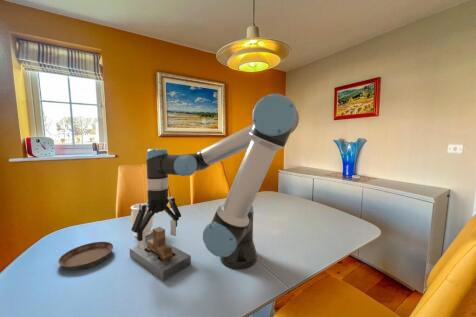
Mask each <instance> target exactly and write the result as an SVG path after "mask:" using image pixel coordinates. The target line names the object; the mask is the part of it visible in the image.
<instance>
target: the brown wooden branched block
mask: <svg viewBox="0 0 476 317" xmlns="http://www.w3.org/2000/svg"><path fill="white" fill-rule="evenodd" d="M151 230H152V238H150V239H147V241H146V242H147V248H146V252H148V253H149V252H151V251H154V252H156V253H157V254H159V255H160V261H162V262H164V261H166V260H168V259H169V258H171V257H173V254H172V247H170V246H168V245H167V244H165V242H166V229H165V228H163V227H161V226H158V227H155V228H151Z"/></svg>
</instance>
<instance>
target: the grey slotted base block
mask: <svg viewBox="0 0 476 317" xmlns="http://www.w3.org/2000/svg"><path fill="white" fill-rule="evenodd" d="M165 244H167V245H168V246H170V247H172V254H173V257H171V258H169V259H168V260H166V261H164V262H162V261H160V255H159V254H157V253H156V252H154V251H151V252H149V253H148V252H146V249H144V250H143V249H142V248H140V244H137V245H134V246H132V247H130V248H129V257H130V258H131V259H132V260H133V261H135V262H137V263H138V264H139V265H140V266H142V267H143V268H144V269H146V270H147V271H148V272H149V273H151V274H153V275H154V276H155V277H156V278H158V279H160V280H161V281H162V282H165V281H166V280H168V279H170V278H171V277H173V276H175V275H177V274H178V273H180V272H181V271H182V270H184V269H186V268H187V267H189V266H191V264H192V255H191V254H188V253H187V252H185V251H183V250H182V249H179V248H177V247H175V246H173V245H172V244H169V243H167V242H166V241H165ZM145 246H146V248H147V241H145Z"/></svg>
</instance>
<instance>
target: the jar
mask: <svg viewBox="0 0 476 317" xmlns="http://www.w3.org/2000/svg"><path fill="white" fill-rule="evenodd" d="M147 203H148V202H142V203H136V204H133V205H131V206H130V210H131V214H130V217H131V218H130V220H131V228H132V227H133V224H134V222H135V219H136V217H137V214H138V212H139V205H140V204H147ZM148 209H149V208H148V207H147V210H148ZM147 210H146V211H145V215H146V212H147ZM151 212H152V211H151ZM145 215H144V217H145ZM154 215H155V214H154ZM154 215H153V216H152V217H151V219H150V221H149V222H148V224H147V225H146V227H145V229H144V230H143V231H145V237H147V236H149V235H151V234H153V230H152V229H153V223H154ZM144 217H143V218H144ZM133 233H134V234H133V236H134V237H136V238H137V233H135V232H133Z"/></svg>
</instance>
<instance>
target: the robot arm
mask: <svg viewBox="0 0 476 317" xmlns="http://www.w3.org/2000/svg"><path fill="white" fill-rule="evenodd" d="M296 107H297V106H296V105H295V103H294V102H293V101H292V100H291V99H290V98H289V97H287V96H285V95H283V94H280V93H270V94H268V95H264V96H263V97H261V99H259V100H258V101H257V102H256V104H255V105H254V108H253V110H252V124H250V125H249V126H246V127H244V128H243V129H241V130H238V131H236V132H235V133H233V134H231V135H228V136H227V137H224V138H222V139H221V140H219V141H216V142H215V143H213V144H211V145H208V146H206V147H204V148H203V149H201V150H199V151H197V152H195V153H187V154H186V153H185V154H169V153H168V150H167V149H166V148H149V149H147V150H146V160H145V161H146V179H147V180H146V181H147V182H146V183H147V184H146V186H147V190H146V192H147V202H146V203H147V204H140V203H139V204H140V205H139V212H138V214H137V217H136V219H135V222H134V224H133V227H132V226H131V229H130V230H131V231H132V232H133V233H137V237H136V239H137V241H138V242H139V245H140V248H142V249H143V250H144V249H146V246H145V242H146V236H145V231H143V230H144V229H145V227H146V225H147V224H148V222H149V221H150V219H151V217H152V216H153V215H155V214H159V213H160V212H162V213H163V212H164V211H165V213H166V214H167V215H168V216H169V217H170V218H171V219H170V220H169V221H170V235H171V236H173V237H176V236H177V227H178V221H179V220H180V218H181V217H182V214H181V212H180V209H179V207H178V206H177V203H176V198H175V197H172V196H169V189H168V187H169V176H168V175H173V176H181V177H185V176H186V177H188V176H189V177H191V176H192V175H194V173H195V172H199V171H203V170H206V169H207V168H209V167H210V166H212V165H214V164H217V163H219V162H221V161H223V160H226V159H228V158H230V157H232V156H235V155H236V154H238V153H241V152H243V151H245V150H246V151H245V154H244V156H243V158H242V161H241V163H240V165H239V168H238V171H237V173H236V175H235V177H234V180H233V182H232V184H231V187H230V189H229V191H228V194H227V196H226V199H225V201H224V203H223V204H222V205H219V206H218V207H217V209H216V211H215V212H214V215H213V218H212V220H211V222H210V223H208V224H207V225H206V226H205V228H204V229H203V232H202V241H203V243H204V246H205V247H206V249H207V251H208V252H210V253H211V254H212V255H214V256H216V257H218V258H219V260H220V262H221V264H223V265H224V266H226V267H227V268H229V269H237V270H243V268H244V269H247V267H248V268H250V267H252V266H254V265H255V264H256V262H257V260H258V259H257V258H258V253H257V250H256V245H255V243H254V207H253V206H254V205H253V203H254V201H255V199H256V198H257V195H258V193H259V191H260V189H261V186H262V184H263V182H264V179H265V178H266V175H267V173H268V171H269V169H270V166H271V164H272V163H273V160H274V157H275V155H276V154H277V151H279V150H282V149H284V148H285V146H286V143H288V140H289V138H290V136H291V134H292V133H293V132H294V131H295V130H296V129H297V127H298V126H299V120H300V116H299V112H298V110H297V108H296ZM168 204H170V207H171V209H172V210H171V209H170V208H169V206H168ZM147 207H148V208H149V209H148V210H147ZM146 210H147V212H146V215H145V211H146ZM151 211H152V212H151ZM144 215H145V217H144ZM143 217H144V218H143ZM254 263H255V264H254ZM253 264H254V265H253ZM251 265H252V266H251Z"/></svg>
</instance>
